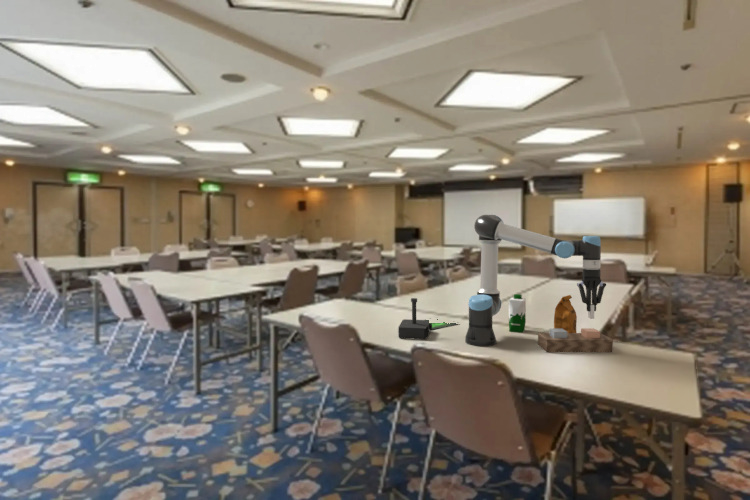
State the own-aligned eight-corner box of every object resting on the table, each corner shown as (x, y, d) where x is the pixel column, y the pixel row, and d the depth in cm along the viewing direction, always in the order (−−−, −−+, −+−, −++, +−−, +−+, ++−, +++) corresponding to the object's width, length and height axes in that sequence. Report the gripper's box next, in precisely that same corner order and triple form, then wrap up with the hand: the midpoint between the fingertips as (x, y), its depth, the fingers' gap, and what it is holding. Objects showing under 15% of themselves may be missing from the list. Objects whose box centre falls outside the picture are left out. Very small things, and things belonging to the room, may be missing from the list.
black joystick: (429, 340, 218) (429, 302, 217) (398, 339, 222) (397, 301, 221) (432, 331, 237) (432, 296, 236) (403, 330, 240) (402, 295, 239)
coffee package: (579, 336, 221) (580, 295, 219) (570, 341, 212) (570, 298, 211) (560, 333, 228) (561, 293, 227) (550, 337, 219) (551, 296, 218)
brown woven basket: (546, 352, 195) (546, 339, 195) (537, 344, 207) (537, 333, 206) (612, 352, 194) (612, 339, 193) (599, 345, 206) (600, 332, 205)
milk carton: (526, 329, 237) (526, 294, 236) (523, 333, 229) (524, 297, 228) (510, 328, 241) (510, 293, 240) (507, 331, 233) (507, 296, 232)
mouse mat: (437, 318, 271) (437, 316, 271) (462, 324, 253) (462, 322, 253) (404, 324, 255) (404, 322, 255) (429, 331, 237) (429, 329, 237)
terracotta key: (586, 342, 197) (586, 331, 196) (580, 338, 203) (581, 328, 202) (599, 342, 197) (599, 331, 196) (593, 338, 202) (593, 328, 202)
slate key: (554, 342, 197) (554, 331, 197) (549, 338, 203) (549, 328, 203) (567, 342, 197) (567, 331, 197) (561, 338, 203) (562, 328, 203)
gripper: (581, 269, 194) (580, 320, 195) (609, 269, 194) (609, 319, 195) (574, 268, 202) (573, 316, 203) (601, 267, 201) (601, 316, 202)
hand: (591, 318), depth 199 cm, fingers closed
